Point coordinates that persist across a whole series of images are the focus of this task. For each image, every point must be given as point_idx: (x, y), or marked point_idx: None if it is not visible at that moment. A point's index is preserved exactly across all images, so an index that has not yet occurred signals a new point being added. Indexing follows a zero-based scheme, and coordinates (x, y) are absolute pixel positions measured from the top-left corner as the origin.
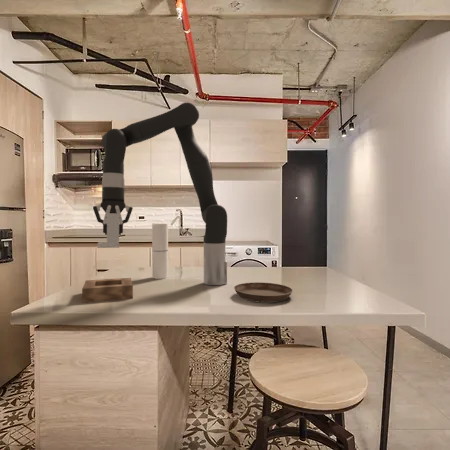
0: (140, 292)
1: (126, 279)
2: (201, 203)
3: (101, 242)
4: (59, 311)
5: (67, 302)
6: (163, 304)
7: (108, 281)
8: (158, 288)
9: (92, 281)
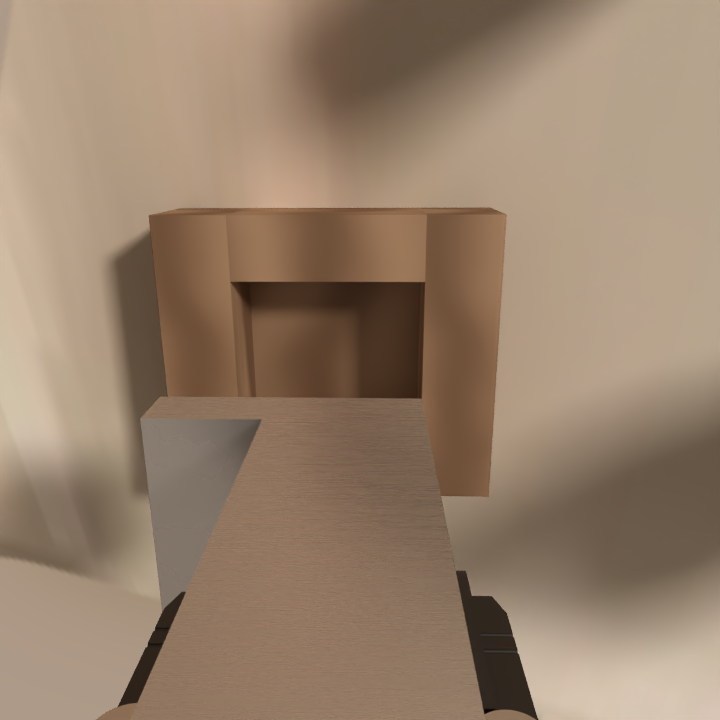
0: (542, 325)
1: (465, 277)
2: None
3: (189, 479)
4: (127, 573)
5: (121, 427)
6: (611, 617)
7: (326, 281)
8: (691, 242)
9: (206, 272)
